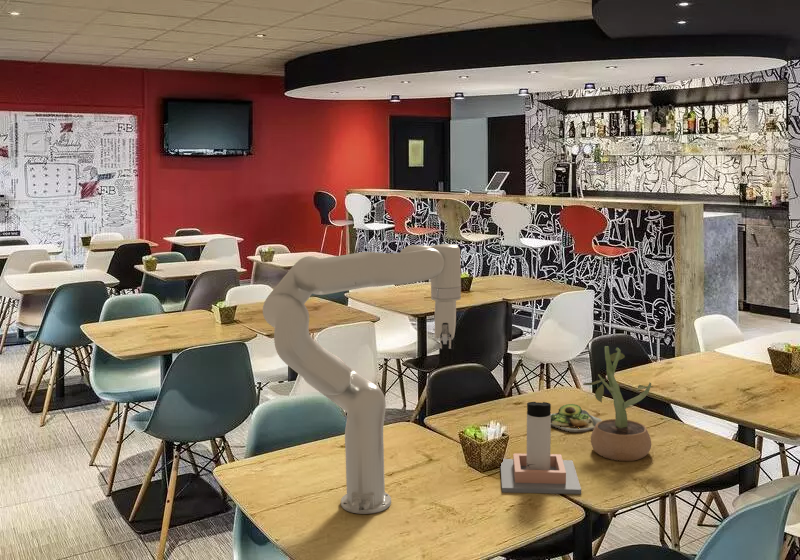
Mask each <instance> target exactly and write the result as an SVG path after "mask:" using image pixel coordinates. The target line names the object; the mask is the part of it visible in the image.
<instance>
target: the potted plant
mask: <svg viewBox="0 0 800 560" xmlns="http://www.w3.org/2000/svg"><path fill="white" fill-rule="evenodd" d="M615 351H616V352H613V353H610V346H608V345H607V346H606V345H605V346H604V359H605V364H606V366H605V367H606V378H607V380H608V383H607V382H606V381H605V380H606V378H603V377H602V376H601V375H600V374H599V373H598V374H597V376H598V377H599V379H598V380H595V381H592V382H591V381H590V382H585V383H584V382H583V383H582V384H583V386H593V385H597V384H599V383H601V385H599V387H598V388H597V389H596V390H595V393H594V396H595V400H597V401H598V402H600V403H603V397H604V393H605V387H606V389H607V390H608V391H609V393H610V394H611V396H612V400H613V406H614V412H615V414H614V415H615V418H614V419H613V418H611V419H605V420H602V421H600V422H598V423H597V424H596V425H595V428H594V430H592V431H591V435H590V445H591V447H592V449H593V451H594V452H595V453H596V454H598V455H599V456H601V457H602V456H603V457H602V458H605V459H609V460H612V461H618V460H619V461H620V462H631V461H638V460H641V459H643V458H645V457H646V456H647V455H649V453H650V451H651V448H652V439H651V436H650V433H649V431H648V428H647V427H646V425H644V424H643V423H640V422H637V421H633V420H629V419H628V414H627V410H626V409H627V408H628V407H630V406H633V405H636V404H637V403H639V402H641V401H642V400H644V398H646V396H647V395H648V394H649V393H650V390H651V388H654V386H653V385H652V382H649V383H648V384H647V385H642V384H638V386H637V389H636V390H637V391H639V390H643V391H642V392H641V393H640V394H638V395H636V396H635V397H632V398H630V399H627V400H626V401H625V400H624V398H623V395H622V393H621V390H620V385H619V383H618V382H617V379H616V377H615V373H616V369H617V366H618V363H619V361H622V359H625V357H626V356H625V354H624V353H623V352H621V351H622V350H621V349H620V348H619V347H616V348H615ZM604 386H605V387H604ZM644 389H645V390H644ZM613 459H614V460H613Z"/></svg>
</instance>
